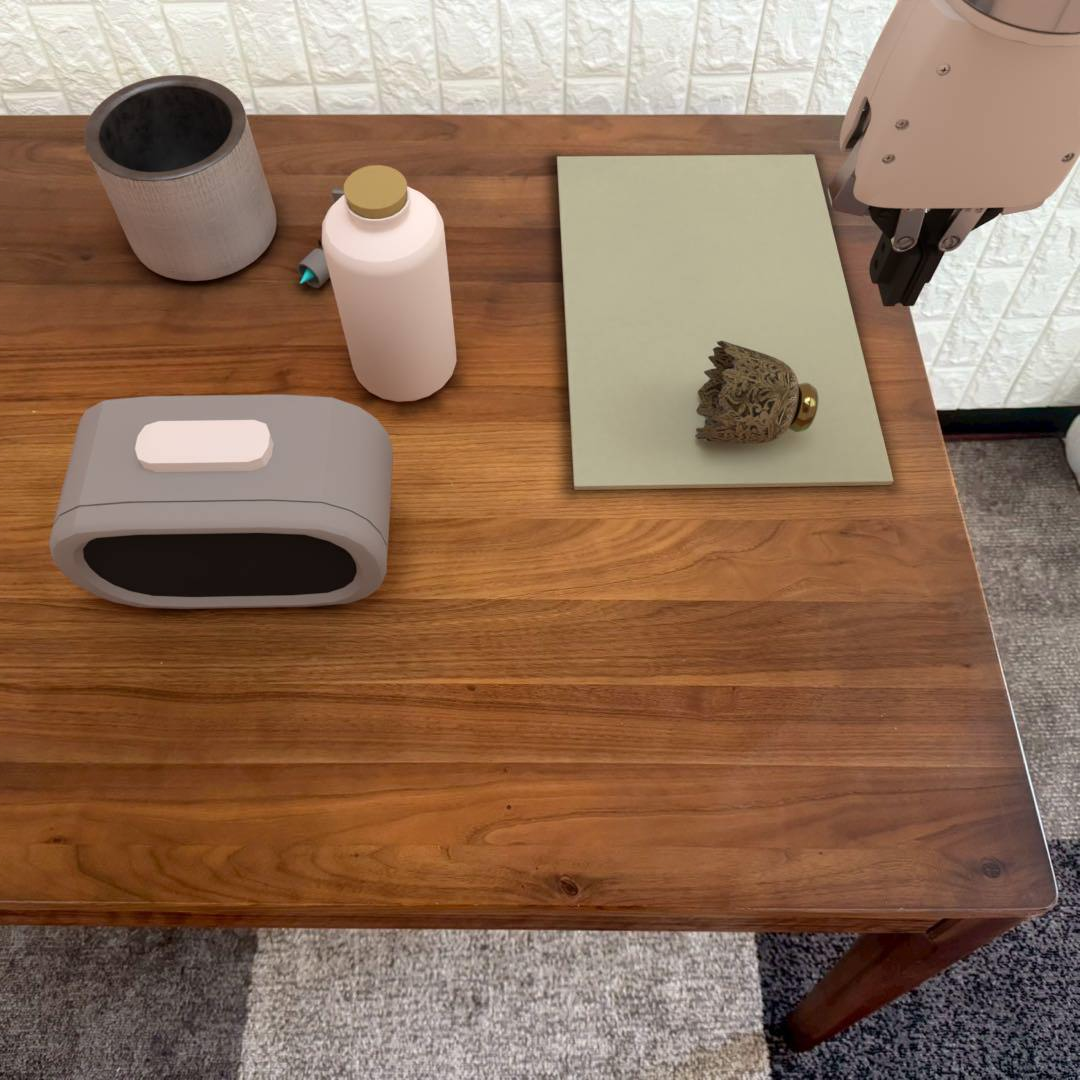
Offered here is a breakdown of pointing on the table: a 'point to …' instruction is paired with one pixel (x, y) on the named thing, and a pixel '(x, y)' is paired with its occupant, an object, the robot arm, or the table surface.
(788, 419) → the brown jagged-rimmed vessel
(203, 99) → the planter
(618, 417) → the mat
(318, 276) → the toy gun
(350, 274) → the potion bottle
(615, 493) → the table surface
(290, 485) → the alarm clock
